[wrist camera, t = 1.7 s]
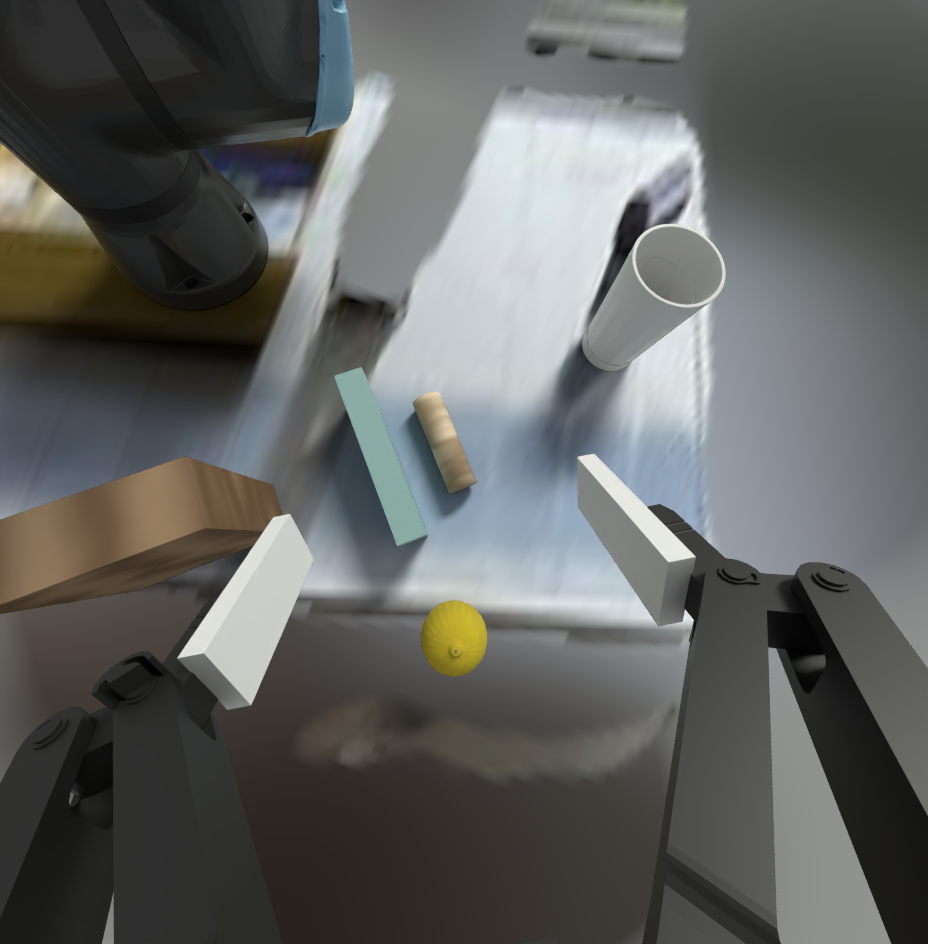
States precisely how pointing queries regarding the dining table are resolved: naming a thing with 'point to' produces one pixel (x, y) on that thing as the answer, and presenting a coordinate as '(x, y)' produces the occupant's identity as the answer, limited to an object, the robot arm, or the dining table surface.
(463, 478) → the roller
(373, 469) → the rail
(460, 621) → the lemon
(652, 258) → the cup
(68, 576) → the slab
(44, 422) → the dining table surface
